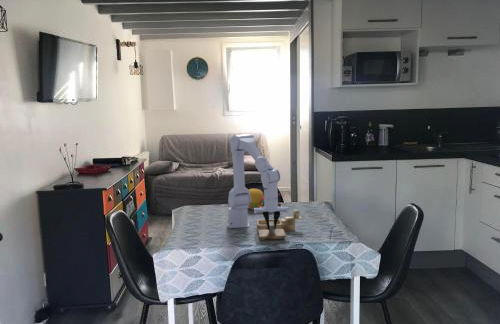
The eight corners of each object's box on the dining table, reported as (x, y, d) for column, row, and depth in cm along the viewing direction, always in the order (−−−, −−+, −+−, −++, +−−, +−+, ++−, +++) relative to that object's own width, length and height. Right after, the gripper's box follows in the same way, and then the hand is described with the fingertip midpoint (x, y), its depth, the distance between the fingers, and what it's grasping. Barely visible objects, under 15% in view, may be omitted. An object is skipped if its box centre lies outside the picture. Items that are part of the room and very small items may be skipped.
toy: (284, 209, 249) (244, 200, 258) (287, 191, 247) (246, 182, 256) (272, 218, 232) (229, 207, 241) (275, 198, 230) (232, 188, 239)
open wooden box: (257, 234, 198) (257, 223, 197) (256, 228, 207) (256, 218, 206) (295, 232, 198) (295, 222, 198) (293, 226, 207) (293, 216, 207)
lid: (259, 240, 186) (259, 227, 185) (258, 233, 195) (258, 221, 194) (285, 239, 186) (285, 226, 185) (283, 232, 195) (283, 220, 194)
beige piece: (285, 220, 201) (285, 211, 200) (285, 218, 203) (285, 210, 203) (301, 219, 201) (301, 211, 200) (300, 218, 204) (300, 209, 203)
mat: (256, 243, 184) (256, 242, 184) (254, 235, 196) (254, 234, 196) (289, 242, 185) (289, 241, 185) (286, 233, 197) (286, 233, 197)
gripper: (254, 200, 184) (255, 232, 186) (289, 199, 184) (289, 230, 186) (253, 196, 191) (254, 227, 193) (287, 195, 191) (287, 226, 193)
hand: (271, 228), depth 190 cm, fingers closed on lid
